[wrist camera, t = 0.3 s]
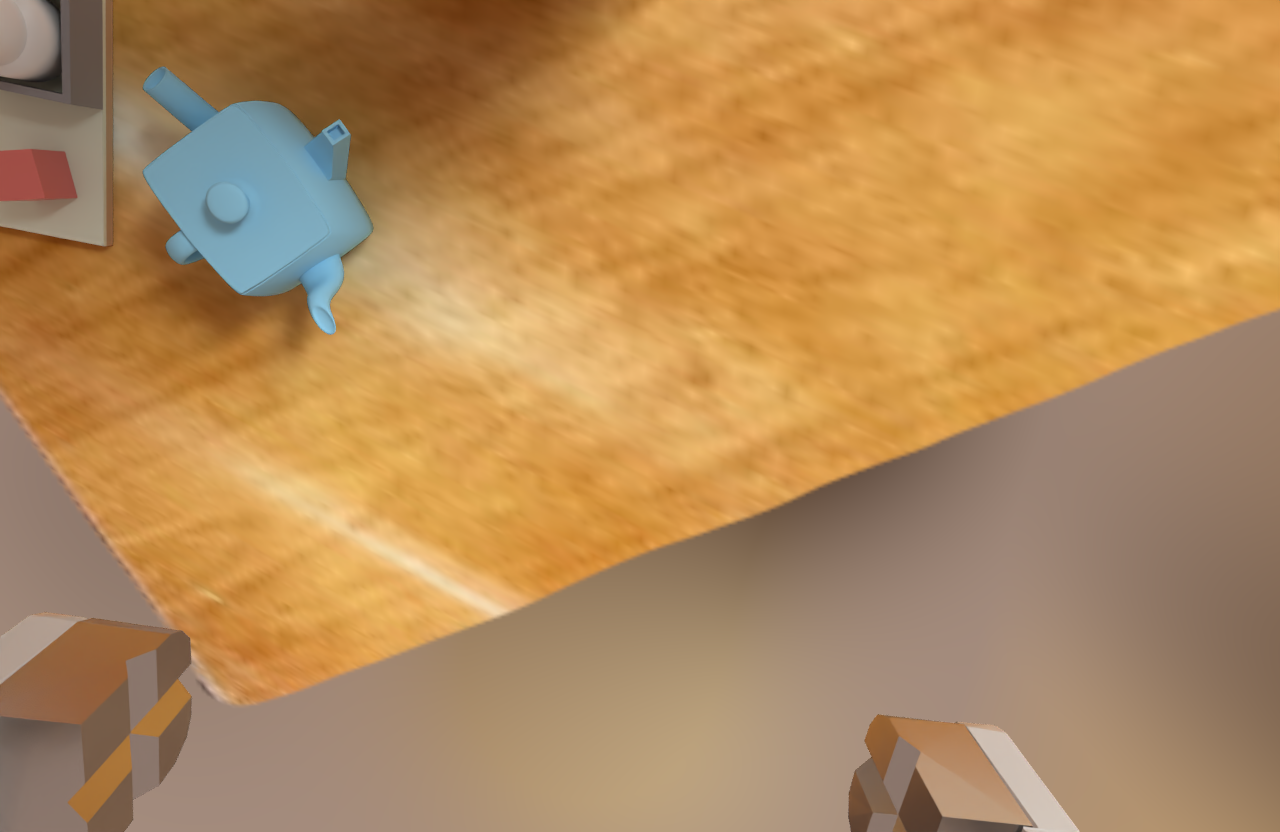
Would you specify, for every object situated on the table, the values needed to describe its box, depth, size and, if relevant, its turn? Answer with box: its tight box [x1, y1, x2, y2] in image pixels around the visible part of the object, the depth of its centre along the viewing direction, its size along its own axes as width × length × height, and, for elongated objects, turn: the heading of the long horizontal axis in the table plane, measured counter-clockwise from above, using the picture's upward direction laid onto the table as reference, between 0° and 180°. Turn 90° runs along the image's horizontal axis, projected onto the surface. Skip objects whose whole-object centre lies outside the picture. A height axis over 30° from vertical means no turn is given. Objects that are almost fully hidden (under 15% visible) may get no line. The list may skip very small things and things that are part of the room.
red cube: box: [0, 149, 78, 201], centre depth 48 cm, size 3×3×3 cm
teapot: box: [143, 67, 373, 334], centre depth 46 cm, size 18×14×10 cm
